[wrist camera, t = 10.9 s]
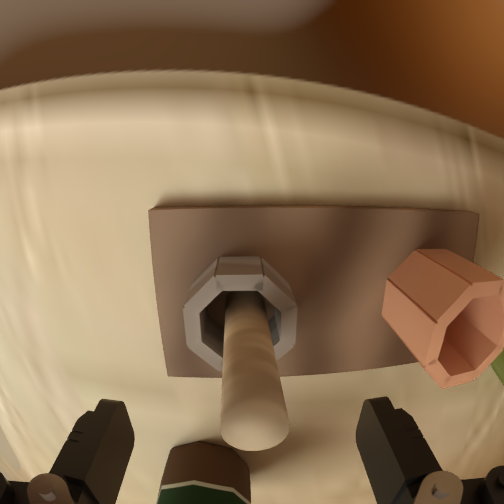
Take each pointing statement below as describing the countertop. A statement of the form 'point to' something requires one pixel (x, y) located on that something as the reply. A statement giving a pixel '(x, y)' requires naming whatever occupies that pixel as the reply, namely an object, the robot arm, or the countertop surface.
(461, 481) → the robot arm
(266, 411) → the birch dowel
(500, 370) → the plant pot
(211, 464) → the beer bottle
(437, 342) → the terracotta cup
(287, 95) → the countertop surface
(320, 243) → the peg socket board
